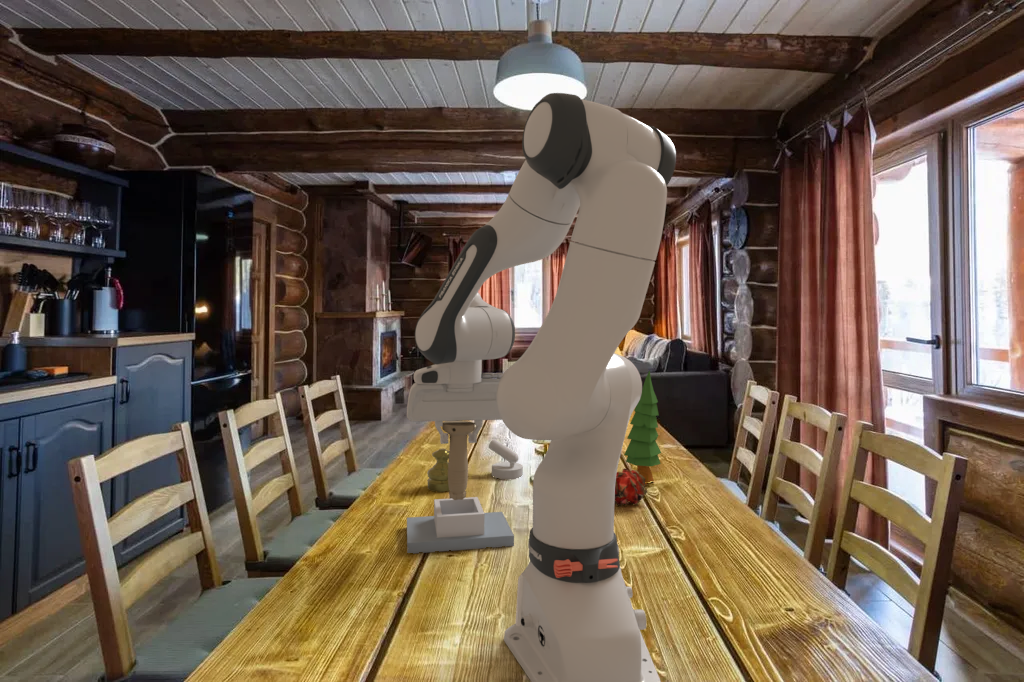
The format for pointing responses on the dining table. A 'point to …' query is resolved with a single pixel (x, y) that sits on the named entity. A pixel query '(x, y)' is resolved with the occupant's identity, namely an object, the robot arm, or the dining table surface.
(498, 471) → the wall hook
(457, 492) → the handle
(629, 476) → the dragon fruit
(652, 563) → the dining table surface
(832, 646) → the dining table surface
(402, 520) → the dining table surface
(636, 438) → the decorative tree
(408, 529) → the grey base with socket
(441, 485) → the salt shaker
